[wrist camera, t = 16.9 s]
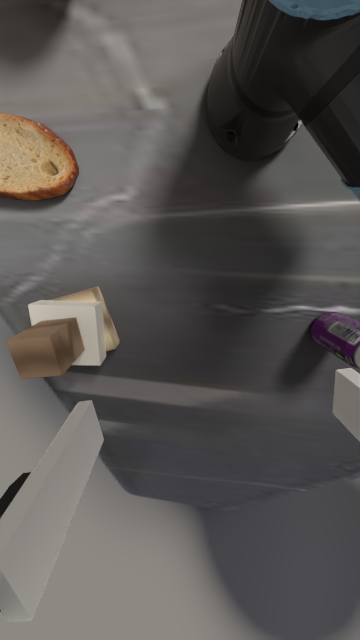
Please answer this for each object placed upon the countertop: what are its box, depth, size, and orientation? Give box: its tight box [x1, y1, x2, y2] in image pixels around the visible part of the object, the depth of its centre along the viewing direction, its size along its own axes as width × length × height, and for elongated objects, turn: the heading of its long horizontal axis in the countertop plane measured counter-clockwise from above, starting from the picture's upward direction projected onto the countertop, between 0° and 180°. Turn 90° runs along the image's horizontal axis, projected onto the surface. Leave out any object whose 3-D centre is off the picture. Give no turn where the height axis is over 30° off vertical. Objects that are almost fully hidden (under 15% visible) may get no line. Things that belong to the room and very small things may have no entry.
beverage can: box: [311, 312, 360, 368], centre depth 40 cm, size 7×7×12 cm
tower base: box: [53, 286, 120, 351], centre depth 44 cm, size 12×12×4 cm
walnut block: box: [6, 317, 85, 379], centre depth 34 cm, size 6×6×8 cm
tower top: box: [28, 300, 106, 366], centre depth 40 cm, size 11×11×4 cm
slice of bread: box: [0, 113, 79, 200], centre depth 36 cm, size 18×18×4 cm
